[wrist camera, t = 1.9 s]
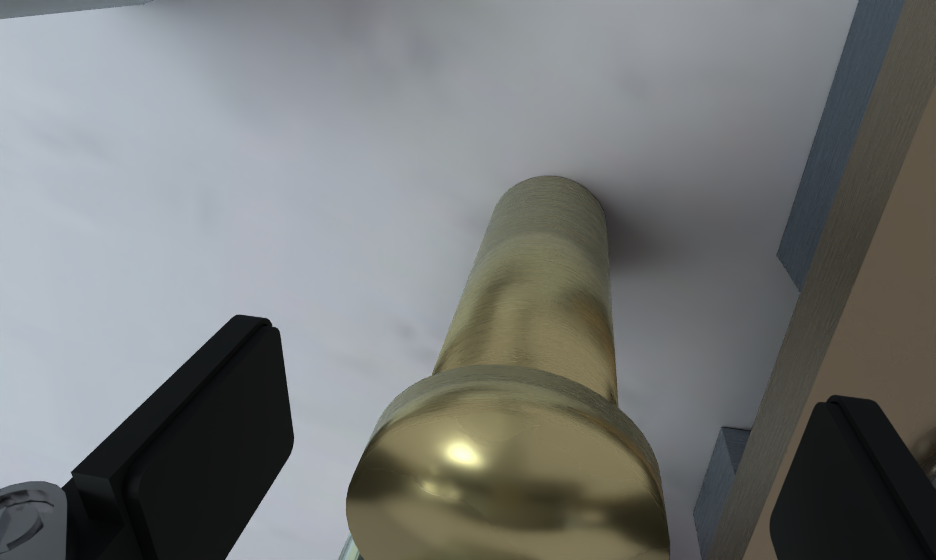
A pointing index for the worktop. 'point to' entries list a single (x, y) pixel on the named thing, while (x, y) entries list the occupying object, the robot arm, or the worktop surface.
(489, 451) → the pin
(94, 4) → the can
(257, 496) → the robot arm
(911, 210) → the peg hole board
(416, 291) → the worktop surface
